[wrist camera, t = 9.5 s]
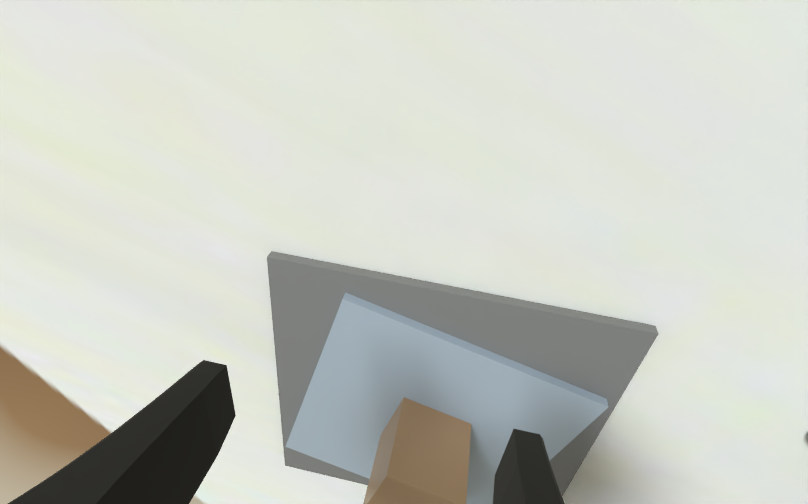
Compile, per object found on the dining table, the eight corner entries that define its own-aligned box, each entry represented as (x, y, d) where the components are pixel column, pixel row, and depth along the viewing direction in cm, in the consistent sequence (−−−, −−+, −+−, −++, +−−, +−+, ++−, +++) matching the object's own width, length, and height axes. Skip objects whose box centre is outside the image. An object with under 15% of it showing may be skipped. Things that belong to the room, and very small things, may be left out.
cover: (606, 398, 22) (630, 498, 18) (482, 514, 30) (479, 602, 26) (345, 292, 22) (308, 371, 17) (288, 439, 30) (254, 517, 25)
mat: (655, 325, 20) (658, 333, 20) (542, 519, 30) (543, 527, 30) (271, 251, 22) (266, 257, 21) (287, 458, 32) (285, 465, 31)
